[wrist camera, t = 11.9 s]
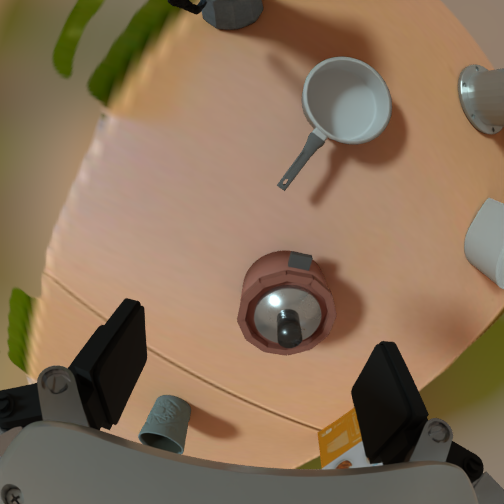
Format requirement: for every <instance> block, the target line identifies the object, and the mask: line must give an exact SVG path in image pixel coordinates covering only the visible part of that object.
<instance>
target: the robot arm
mask: <svg viewBox="0 0 504 504" xmlns="http://www.w3.org/2000/svg"><path fill="white" fill-rule="evenodd" d="M458 92H459V98H460V102H461V105H462V108H463V110H464V112H465V114H466V116H467V118H468V119H469V121H470V122H471V124H472V125H473V126H474V127H475V128H476V129H478V130H479V131H480V132H482V133H485V134H496V133H498V132H499V131H500V130H501V129H502V128H503V127H504V69H497V70H491V71H489V70H487V69H486V68H484V67H482V66H480V65H470V66H467V67H465V68H464V69H463V70H462V72H461V73H460V76H459V81H458ZM146 360H147V347H146V332H145V313H144V307H143V306H141V304H140V302H139V301H135V300H131V299H128V298H126V299H124V301H123V302H122V303H121V304H120V306H119V307H118V308H117V309H116V311H115V312H114V313H113V314H112V316H111V317H110V318H109V320H108V321H107V322H106V324H105V325H101V326H99V327H98V328H97V330H96V331H95V332H94V334H93V335H92V336H91V338H90V339H89V340H88V342H87V343H86V344H85V346H84V347H83V348H82V350H81V351H80V352H79V354H78V355H77V356H76V358H75V359H74V361H73V362H72V363H71V365H70V366H69V367H68V369H67V368H65V367H63V366H51V367H48V368H46V369H44V370H43V371H42V372H41V373H40V374H39V377H38V380H37V383H35V384H30V385H26V386H21V387H16V388H11V389H6V390H1V391H0V504H504V489H503V488H502V487H501V486H500V485H499V484H498V483H497V482H496V481H495V480H494V479H493V478H492V477H491V476H490V475H489V474H488V473H487V472H485V473H483V463H482V460H481V459H480V458H479V457H478V456H477V455H476V454H474V453H472V452H470V451H469V450H466V449H465V448H463V447H462V446H460V445H458V444H457V443H455V442H453V441H452V439H453V433H452V429H451V427H450V426H449V425H448V424H447V423H446V422H445V421H443V420H441V419H438V418H433V419H430V420H428V419H427V416H428V415H429V414H428V412H427V410H426V407H425V405H424V403H423V401H422V398H421V396H420V394H419V391H418V389H417V387H416V385H415V383H414V380H413V378H412V376H411V374H410V372H409V370H408V368H407V366H406V364H405V362H404V360H403V358H402V355H401V353H400V351H399V349H398V347H397V345H396V344H395V343H394V342H386V341H382V342H380V343H379V344H377V345H376V346H375V348H374V350H373V351H372V353H371V355H370V357H369V359H368V361H367V363H366V364H365V366H364V368H363V370H362V372H361V373H360V375H359V377H358V379H357V380H356V382H355V384H354V385H353V387H352V391H351V394H352V399H353V403H354V407H355V411H356V415H357V420H358V424H359V428H360V433H361V437H362V442H363V447H364V451H365V456H366V457H367V458H369V462H370V464H376V463H382V464H383V465H380V466H370V467H359V468H346V469H319V470H318V469H316V470H313V469H312V470H309V469H279V468H265V467H254V466H245V465H237V464H229V463H223V462H216V461H211V460H205V459H200V458H195V457H190V456H186V455H181V454H177V453H173V452H169V451H165V450H161V449H157V448H154V447H150V446H147V445H143V444H140V443H136V442H133V441H130V440H127V439H124V438H121V437H118V436H115V435H112V434H109V433H106V432H103V431H100V428H101V427H103V428H105V429H108V430H110V429H111V427H112V424H114V425H116V424H117V423H118V421H119V419H120V417H121V414H122V412H123V410H124V408H125V406H126V403H127V401H128V399H129V397H130V395H131V393H132V391H133V389H134V386H135V384H136V382H137V380H138V378H139V376H140V374H141V372H142V370H143V368H144V366H145V363H146Z"/></svg>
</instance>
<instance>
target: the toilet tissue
mask: <svg viewBox="0 0 504 504" xmlns="http://www.w3.org/2000/svg"><path fill="white" fill-rule="evenodd" d="M464 248H465V255H466V258H467V260H468V261H469V262H470V263H471V264H472V265H473V266H475V267H476V268H477V269H478V270H480V271H481V272H482V273H483V274H485V275H486V276H487V277H488V278H489V279H490V280H492V281H493V282H494V283H495V284H497V285H498V286H499V287H500V288H502V289H504V204H503V203H501V202H498V201H496V200H494V199H491V198H488V199H487V200H486V202H485V203H484V204H483V205H482V207H481V209H480V210H479V212H478V213H477V215H476V217H475V219H474V221H473V222H472V224H471V225H470V227H469V229H468V232H467V235H466V238H465V247H464Z"/></svg>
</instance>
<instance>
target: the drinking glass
mask: <svg viewBox="0 0 504 504" xmlns="http://www.w3.org/2000/svg"><path fill="white" fill-rule="evenodd" d="M190 414H191V408H190V406H189V405H188V403H187V402H185V401H184V400H182V399H180V398H178V397H175V396H171V395H163V396H160V397H158V398H157V400H156V402H155V404H154V406H153V408H152V410H151V411H150V414H149V415H148V418H147V421H146V422H145V424H144V426H143V427H142V429H141V431H140V433H139V436H138V438H139V440H140V441H141V443H142V444H143V445H147V446H150V447H154V448H157V449H161V450H165V451H169V452H173V453H177V454H182V453H183V452H184V446H185V439H186V434H187V429H188V422H189V419H190Z"/></svg>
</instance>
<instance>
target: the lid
mask: <svg viewBox="0 0 504 504" xmlns="http://www.w3.org/2000/svg"><path fill="white" fill-rule="evenodd" d="M254 321H255V325H256V328H257V330H258V331H259V332H260V334H261V335H262V336H264V337H265V338H267V339H268V340H270V341H273V342H276V343H279V344H280V345H281V346H282V347H284V348H294V347H296V346H298V345H299V344H300V343H301V342H302V340H304V339H306V338H308V337H309V336H311V335H312V334H313V333H314V332H315V331H316V329H317V328H318V326H319V324H320V321H321V309H320V305H319V302H318V300H317V298H316V297H315V295H314V294H313V293H312V292H310V291H309V290H308V289H306V288H304V287H301V286H297V285H281V286H277V287H274V288H272V289H270V290H268V291H267V292H265V293H264V294H263V295H262V296H261V297H260V299H259V300H258V302H257V304H256V307H255V312H254Z"/></svg>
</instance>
